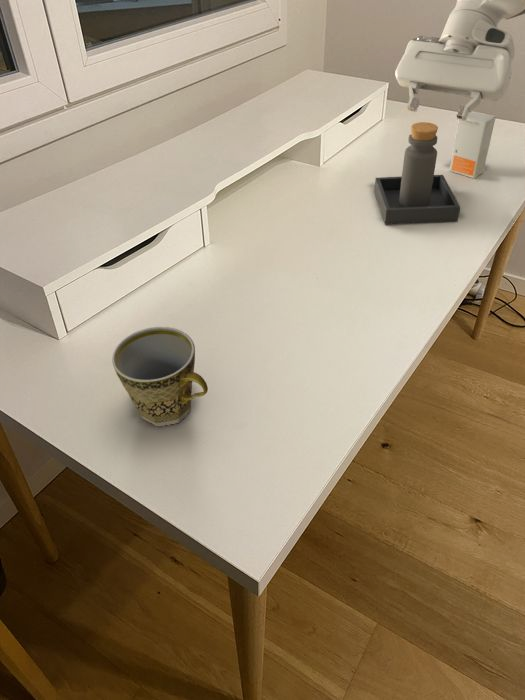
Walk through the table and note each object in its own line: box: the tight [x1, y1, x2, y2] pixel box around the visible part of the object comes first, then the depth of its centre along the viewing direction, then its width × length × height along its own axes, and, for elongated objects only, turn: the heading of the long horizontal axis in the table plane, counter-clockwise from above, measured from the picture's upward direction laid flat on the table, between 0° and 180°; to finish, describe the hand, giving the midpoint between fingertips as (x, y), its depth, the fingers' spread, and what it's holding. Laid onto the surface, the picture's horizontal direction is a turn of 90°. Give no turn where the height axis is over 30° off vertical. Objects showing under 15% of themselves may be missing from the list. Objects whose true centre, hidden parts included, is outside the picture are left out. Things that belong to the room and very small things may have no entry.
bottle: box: [399, 121, 439, 207], centre depth 110 cm, size 6×6×15 cm
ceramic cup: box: [111, 326, 209, 427], centre depth 73 cm, size 13×10×10 cm
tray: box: [374, 174, 461, 226], centre depth 114 cm, size 14×14×3 cm
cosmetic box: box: [449, 110, 496, 180], centre depth 121 cm, size 6×4×12 cm
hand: (435, 113), depth 106 cm, fingers open, 8 cm apart
